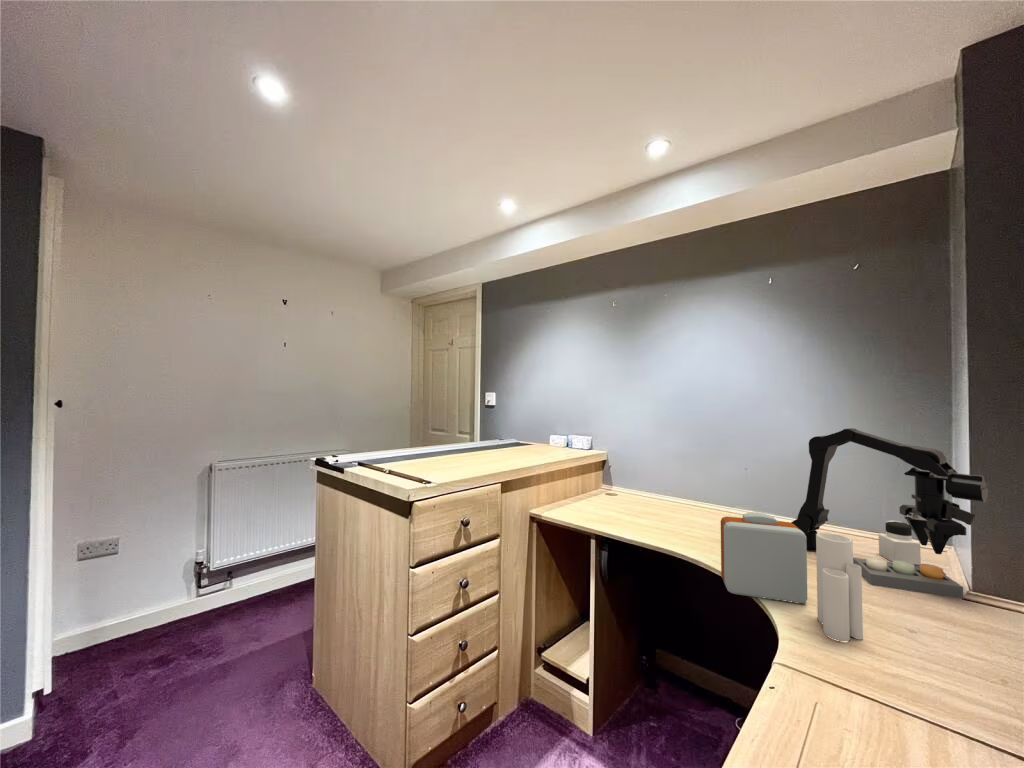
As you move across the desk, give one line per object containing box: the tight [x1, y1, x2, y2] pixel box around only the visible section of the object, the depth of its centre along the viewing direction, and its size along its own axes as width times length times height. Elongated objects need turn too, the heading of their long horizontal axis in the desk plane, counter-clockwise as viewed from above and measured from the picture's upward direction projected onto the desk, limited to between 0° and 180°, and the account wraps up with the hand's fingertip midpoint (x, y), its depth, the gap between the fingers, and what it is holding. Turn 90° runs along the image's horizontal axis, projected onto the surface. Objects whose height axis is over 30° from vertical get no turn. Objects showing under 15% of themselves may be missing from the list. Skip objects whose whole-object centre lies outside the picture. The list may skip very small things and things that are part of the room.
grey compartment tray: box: [853, 557, 964, 599], centre depth 111 cm, size 19×12×3 cm, turn 67°
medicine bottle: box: [877, 520, 922, 566], centre depth 126 cm, size 7×7×12 cm
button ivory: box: [865, 556, 888, 572], centre depth 114 cm, size 4×4×3 cm
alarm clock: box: [720, 511, 808, 604], centre depth 106 cm, size 18×9×21 cm, turn 71°
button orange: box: [919, 563, 944, 580], centre depth 109 cm, size 4×4×3 cm
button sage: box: [892, 560, 915, 576], centre depth 111 cm, size 4×4×3 cm
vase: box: [815, 532, 864, 642], centre depth 89 cm, size 11×7×20 cm, turn 153°
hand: (930, 549), depth 109 cm, fingers open, 6 cm apart
